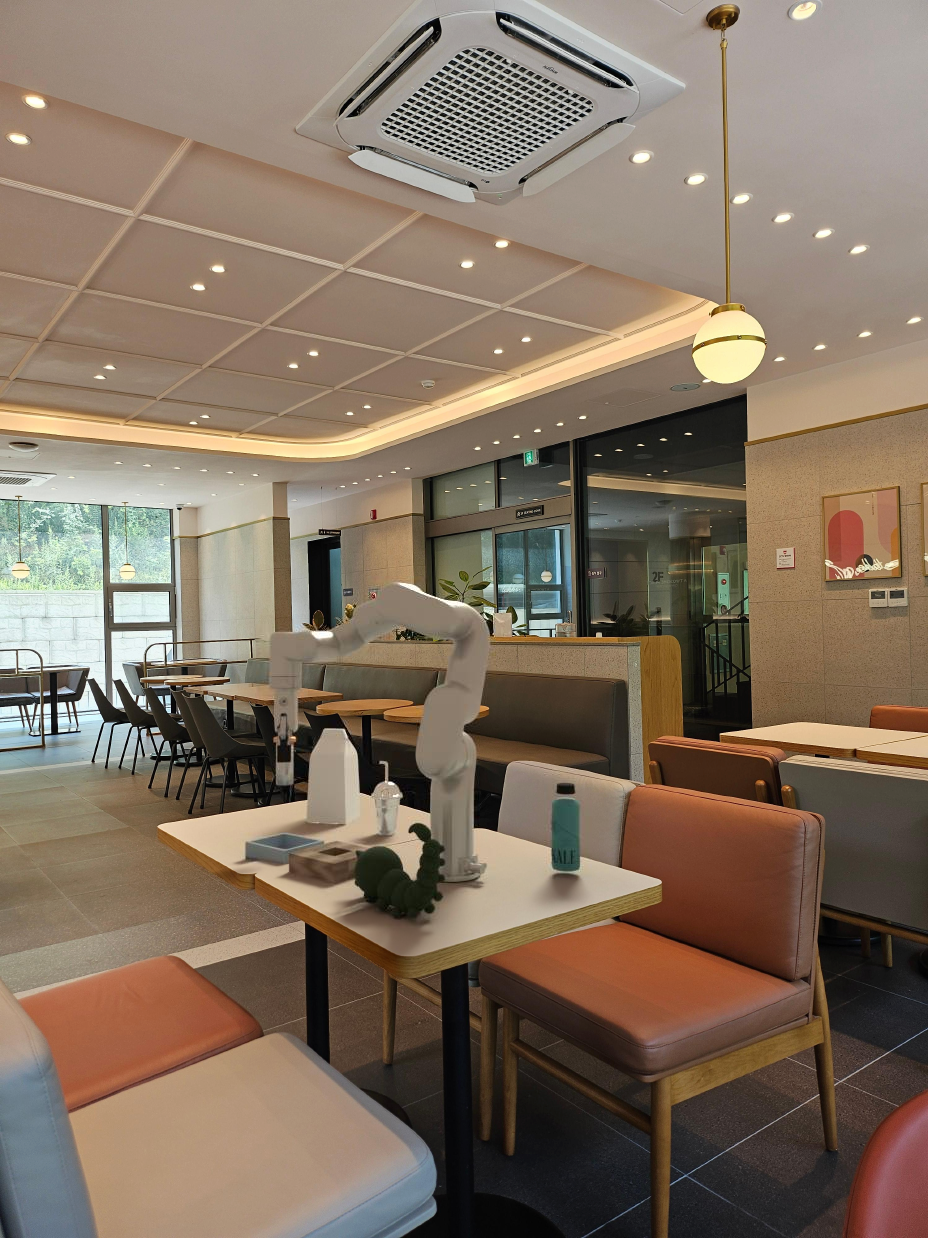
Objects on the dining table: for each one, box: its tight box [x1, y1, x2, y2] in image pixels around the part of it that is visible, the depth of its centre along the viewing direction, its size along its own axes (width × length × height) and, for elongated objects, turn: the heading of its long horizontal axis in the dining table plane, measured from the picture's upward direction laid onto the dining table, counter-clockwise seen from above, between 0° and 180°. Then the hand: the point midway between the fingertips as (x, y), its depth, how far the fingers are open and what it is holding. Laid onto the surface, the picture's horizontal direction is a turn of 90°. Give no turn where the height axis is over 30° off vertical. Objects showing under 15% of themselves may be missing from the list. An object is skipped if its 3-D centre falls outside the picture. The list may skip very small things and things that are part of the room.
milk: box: [305, 728, 362, 825], centre depth 238 cm, size 12×12×26 cm
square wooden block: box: [288, 840, 370, 884], centre depth 181 cm, size 14×14×5 cm
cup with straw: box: [370, 760, 404, 836], centre depth 220 cm, size 8×9×20 cm
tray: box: [244, 832, 325, 865], centre depth 195 cm, size 14×12×4 cm
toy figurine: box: [354, 822, 445, 919], centre depth 158 cm, size 9×19×25 cm
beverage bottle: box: [550, 782, 581, 873], centre depth 181 cm, size 6×7×20 cm
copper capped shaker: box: [273, 735, 297, 786], centre depth 196 cm, size 5×5×11 cm
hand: (284, 759), depth 196 cm, fingers closed on copper capped shaker, 4 cm apart
